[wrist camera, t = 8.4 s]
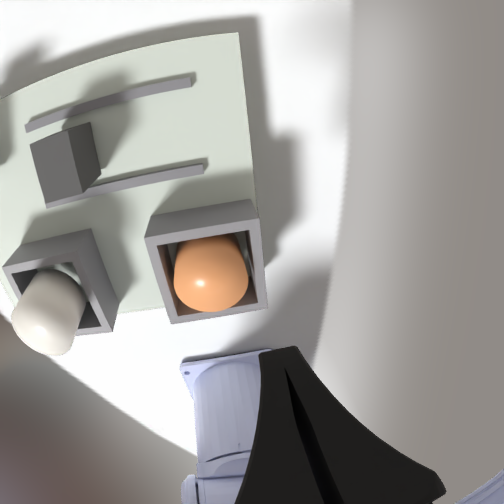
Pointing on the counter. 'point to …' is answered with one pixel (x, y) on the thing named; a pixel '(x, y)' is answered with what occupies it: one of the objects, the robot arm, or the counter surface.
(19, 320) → the button white
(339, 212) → the counter surface
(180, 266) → the button orange
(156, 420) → the counter surface
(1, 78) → the counter surface
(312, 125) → the counter surface
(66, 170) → the slider knob
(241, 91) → the panel
